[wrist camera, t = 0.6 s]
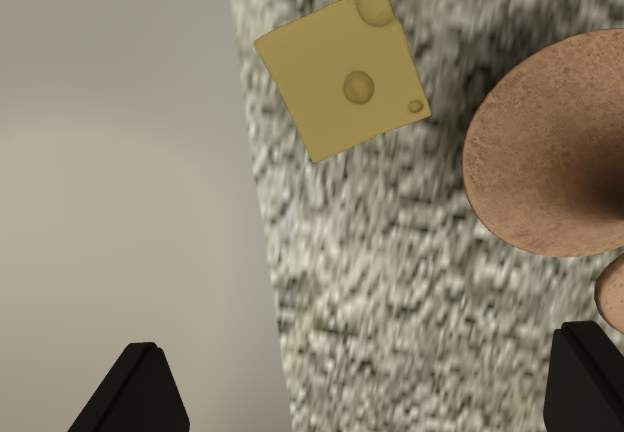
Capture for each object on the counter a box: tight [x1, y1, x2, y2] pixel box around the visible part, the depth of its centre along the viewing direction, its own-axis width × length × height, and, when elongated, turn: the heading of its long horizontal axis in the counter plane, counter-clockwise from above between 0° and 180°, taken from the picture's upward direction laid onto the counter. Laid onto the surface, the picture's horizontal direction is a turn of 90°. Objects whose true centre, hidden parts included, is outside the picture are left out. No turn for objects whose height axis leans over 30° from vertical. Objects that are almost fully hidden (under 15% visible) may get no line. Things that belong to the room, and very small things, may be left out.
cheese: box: [254, 0, 431, 163], centre depth 34 cm, size 10×11×10 cm
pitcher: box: [461, 28, 624, 334], centre depth 27 cm, size 18×17×28 cm
